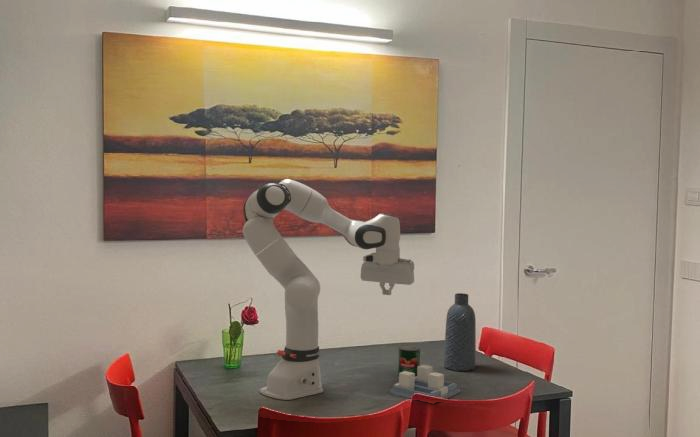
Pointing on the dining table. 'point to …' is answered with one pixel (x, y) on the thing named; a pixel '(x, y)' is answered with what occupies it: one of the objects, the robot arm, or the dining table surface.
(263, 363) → the dining table surface
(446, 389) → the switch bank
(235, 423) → the dining table surface
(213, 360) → the dining table surface
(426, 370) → the far tab
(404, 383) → the near tab
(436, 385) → the middle tab
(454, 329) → the vase
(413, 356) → the canned tomato
